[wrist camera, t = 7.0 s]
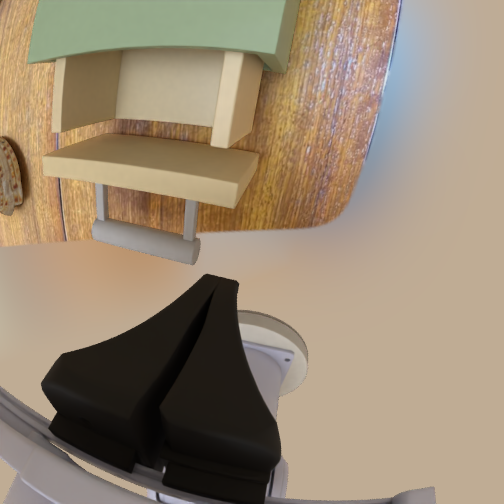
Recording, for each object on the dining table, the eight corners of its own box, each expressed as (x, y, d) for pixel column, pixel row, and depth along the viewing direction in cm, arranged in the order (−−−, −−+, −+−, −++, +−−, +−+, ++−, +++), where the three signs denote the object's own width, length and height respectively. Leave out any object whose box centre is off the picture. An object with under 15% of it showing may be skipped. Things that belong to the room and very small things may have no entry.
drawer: (244, 238, 21) (221, 298, 15) (106, 208, 22) (53, 250, 16) (291, -10, 12) (285, -60, 6) (126, -9, 13) (65, -32, 7)
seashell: (16, 233, 23) (-36, 214, 19) (35, 203, 27) (-14, 188, 24) (21, 163, 19) (-37, 146, 15) (44, 140, 23) (-10, 126, 19)
